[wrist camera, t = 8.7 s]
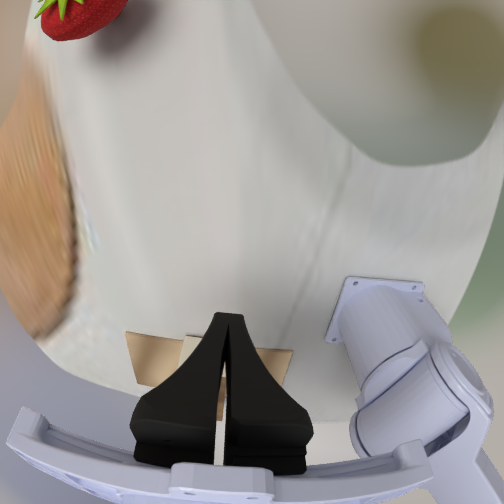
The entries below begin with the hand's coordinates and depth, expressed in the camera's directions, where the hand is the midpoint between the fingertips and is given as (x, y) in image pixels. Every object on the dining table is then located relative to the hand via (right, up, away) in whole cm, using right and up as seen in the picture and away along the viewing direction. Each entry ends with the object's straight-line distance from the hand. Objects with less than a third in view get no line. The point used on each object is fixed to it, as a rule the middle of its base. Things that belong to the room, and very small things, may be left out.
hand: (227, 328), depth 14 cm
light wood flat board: (-4, -10, +16) cm, 20 cm away
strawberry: (-10, +23, 0) cm, 25 cm away
